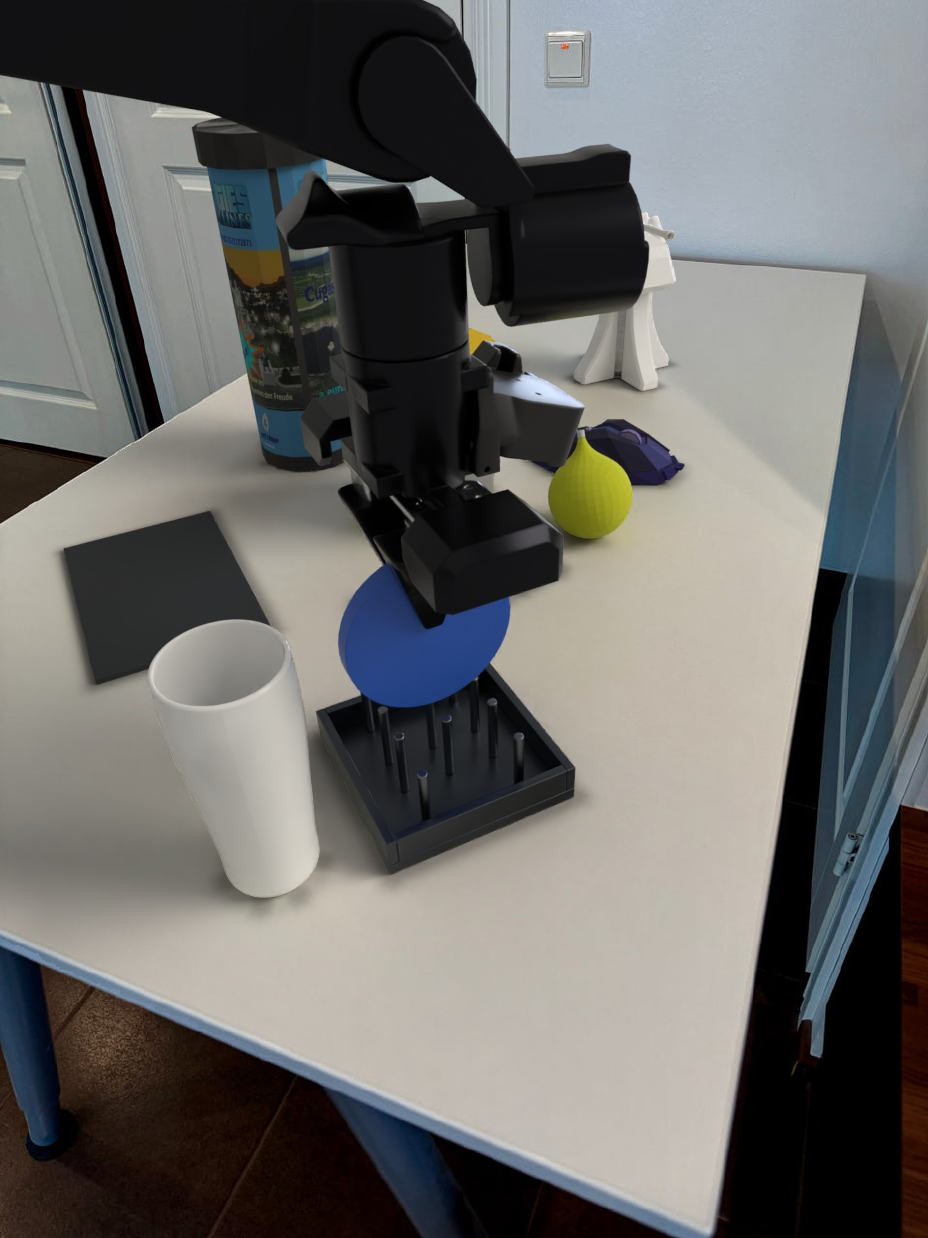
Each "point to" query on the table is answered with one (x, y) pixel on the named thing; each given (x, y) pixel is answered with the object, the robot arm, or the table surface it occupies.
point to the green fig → (589, 493)
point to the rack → (444, 767)
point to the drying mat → (154, 590)
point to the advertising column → (273, 284)
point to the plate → (414, 645)
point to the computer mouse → (629, 452)
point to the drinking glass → (241, 748)
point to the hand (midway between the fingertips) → (427, 618)
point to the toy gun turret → (633, 325)
